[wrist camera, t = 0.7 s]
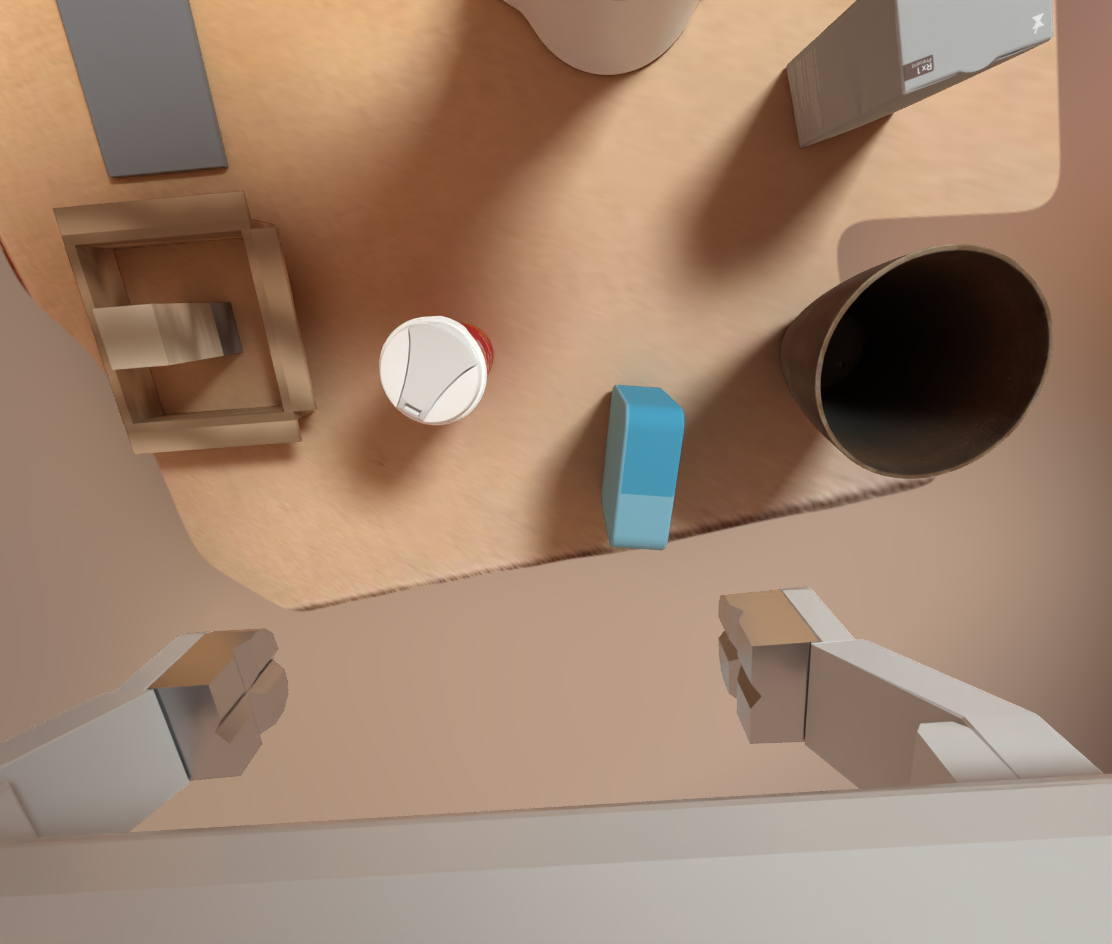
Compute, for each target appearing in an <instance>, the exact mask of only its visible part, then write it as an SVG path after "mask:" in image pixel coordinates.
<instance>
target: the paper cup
mask: <svg viewBox="0 0 1112 944" xmlns="http://www.w3.org/2000/svg"><path fill="white" fill-rule="evenodd" d="M492 363H493V348H492V345H491V343H490V341H489V339H488V337H487V336H486V335H485V334H484V333H483V332H482V331H481V330H480V329H478V328H477V327H475V326H472V325H469V324H465V323H458V322H457V321H454V320H452V319H450V318H447V317H444V316H430V317H419V318H415V319H412V320H409V321H407V322H405V323H403V324H402V325H400V326H398V327H397V328H396V329H395V330H394V331H393V332H392V333H391V334H390V336H389V337H388V338H387V340H386V342H385V343H384V345H383V348H382V351H381V353H380V359H379V375H380V380H381V384H382V387H383V389H384V391H385V394H386V396H387V397H388V399H389V400H390V402H391V403H392V404H393V405H394V406H395V407H396V409H398V410H399V411H400V412H401V413H402V414H404V415H405V416H407V417H408V418H410V419H412V420H414V421H417V422H419V423H423V424H427V425H446V424H451V423H453V422H456V421H459V420H460V419H462V418H464V417H465V416H467V415H468V414H469V413H470V412H472V410H473V409H474V408H475V407H476V406H477V404H478V403H479V401H480V400H481V398H482V395H483V393H484V390H485V386H486V380H487V376H488V374H489V372H490V369H491V367H492Z"/></svg>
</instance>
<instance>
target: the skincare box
mask: <svg viewBox="0 0 1112 944" xmlns="http://www.w3.org/2000/svg"><path fill="white" fill-rule="evenodd" d="M1052 37H1053V11H1052V0H857V1H856V2H854V3H853V4H852V5H851V6H850V7H849V8H848V9H847V10H846V11H845V12H844V13H843V14H842V15H840V16H839V17H838V18H837V19H836V20H835V21H834V22H833V23H832V24H831V25H830V26H828V27H827V28H826V29H825V30H824V31H823V32H822V33H821V34H820V35H819V36H818V37H817V38H816V39H815V40H813V41H812V42H811V43H810V44H809V45H808V46H807V47H806V48H805V49H804V50H803V51H802V52H800V53H799V54H798V55H797V56H796V57H795V58H794V59H793V60H792V61H791V62H790V63H788V65H787V75H788V81H789V86H790V92H791V97H792V103H793V109H794V116H795V122H796V127H797V134H798V139H799V145H800V147H801V148H803V147H806V146H809V145H812V144H815V143H817V142H820V141H823V140H826V139H829V138H832V137H834V136H837V135H840V134H842V133H845V132H848V131H850V130H853V129H855V128H858V127H860V126H863V125H865V124H868V123H870V122H873V121H875V120H877V119H880V118H882V117H884V116H887V115H889V114H892V113H894V112H896V111H899V110H901V109H903V108H905V107H907V106H910V105H912V104H914V103H916V102H918V101H921V100H923V99H925V98H927V97H929V96H931V95H934V94H936V93H938V92H940V91H942V90H945V89H947V88H949V87H951V86H953V85H955V84H958V83H960V82H962V81H964V80H966V79H968V78H971V77H973V76H975V75H977V74H979V73H981V72H983V71H986V70H988V69H990V68H992V67H994V66H996V65H999V64H1001V63H1003V62H1005V61H1007V60H1009V59H1011V58H1014V57H1016V56H1018V55H1020V54H1022V53H1024V52H1027V51H1029V50H1031V49H1033V48H1035V47H1037V46H1039V45H1041V44H1043V43H1045V42H1047V41H1049V40H1050V39H1051V38H1052Z"/></svg>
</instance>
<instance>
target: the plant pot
mask: <svg viewBox="0 0 1112 944" xmlns="http://www.w3.org/2000/svg"><path fill="white" fill-rule="evenodd" d="M1052 350H1053V324H1052V318H1051V313H1050V309H1049V306H1048V303H1047V300H1046V298H1045V296H1044V294H1043V292H1042V290H1041V288H1040V286H1039V285H1038V283H1037V282H1036V280H1035V279H1034V278H1033V277H1032V275H1031V274H1030V273H1029V272H1028V271H1027V270H1026V269H1025V268H1024V267H1023V266H1022V265H1020V264H1019V263H1018V262H1016V261H1015V260H1013V259H1012V258H1010V257H1008V256H1006V255H1005V254H1003V253H1000V252H998V251H995V250H993V249H989V248H985V247H980V246H976V245H967V244H950V245H941V246H936V247H930V248H927V249H923V250H920V251H916V252H914V253H911V254H908V255H905V256H902V257H899V258H897V259H894V260H891V261H888V262H886V263H883V264H881V265H878V266H876V267H873V268H871V269H869V270H866V271H864V272H862V273H860V274H858V275H856V276H854V277H852V278H850V279H848V280H846V281H844V282H843V283H841V284H839V285H837V286H836V287H834V288H833V289H831V290H829V291H828V292H826V293H825V294H823V295H822V296H820V297H819V298H818V299H816V300H815V301H814V302H813V303H811V304H810V305H809V306H808V307H807V308H805V309H804V310H803V311H802V312H801V313H800V314H799V315H798V316H797V317H796V319H795V320H794V321H793V322H792V323H791V325H790V326H789V328H788V329H787V331H786V333H785V335H784V337H783V340H782V343H781V348H780V361H781V367H782V371H783V375H784V378H785V381H786V383H787V385H788V387H789V390H790V392H791V393H792V395H793V397H794V399H795V400H796V402H797V404H798V405H799V407H800V408H801V410H802V411H803V412H804V414H805V415H806V416H807V417H808V419H809V420H810V421H811V422H812V423H813V425H814V426H815V427H816V428H817V429H818V430H819V431H820V432H821V433H822V434H823V435H824V436H825V437H826V438H827V439H828V440H829V441H830V442H831V443H832V444H833V445H834V446H835V447H837V448H838V449H839V450H840V451H841V452H842V453H843V454H844V455H845V456H846V457H848V458H849V459H850V460H851V461H853V462H854V463H856V464H857V465H859V466H861V467H863V468H865V469H867V470H869V471H871V472H874V473H877V474H880V475H884V476H888V477H894V478H904V479H915V478H926V477H932V476H937V475H941V474H945V473H948V472H951V471H954V470H957V469H959V468H962V467H964V466H966V465H968V464H970V463H972V462H974V461H976V460H978V459H979V458H981V457H983V456H984V455H986V454H987V453H989V452H990V451H991V450H992V449H994V448H995V447H997V446H998V445H999V444H1000V443H1001V442H1002V441H1004V440H1005V439H1006V438H1007V437H1008V436H1009V435H1010V434H1011V433H1012V432H1013V431H1014V430H1015V429H1016V428H1017V426H1018V425H1019V424H1020V423H1021V422H1022V420H1023V419H1024V418H1025V416H1026V415H1027V414H1028V412H1029V411H1030V409H1031V408H1032V406H1033V404H1034V403H1035V401H1036V399H1037V397H1038V395H1039V393H1040V391H1041V389H1042V387H1043V385H1044V382H1045V379H1046V377H1047V374H1048V371H1049V367H1050V363H1051V358H1052ZM842 362H843V363H844V367H843V368H840V365H841V364H842Z"/></svg>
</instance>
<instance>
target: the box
mask: <svg viewBox="0 0 1112 944" xmlns="http://www.w3.org/2000/svg"><path fill="white" fill-rule="evenodd" d="M92 310H93V313H94V316H95V319H96V322H97V325H98V328H99V331H100V334H101V337H102V340H103V343H104V346H105V349H106V352H107V355H108V358H109V361H110V364H111V367H112V370H117V369H129V368H142V367H154V366H166V365H174V364H179V363H185V362H191V361H196V360H202V359H208V358H213V357H219V356H225V355H230V354H236V353H242V352H243V351H242V347H241V343H240V339H239V335H238V331H237V327H236V323H235V319H234V315H233V311H232V307H231V303H230V302H216V303H163V304H142V305H130V306H119V307H107V308H95V309H92Z"/></svg>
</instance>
